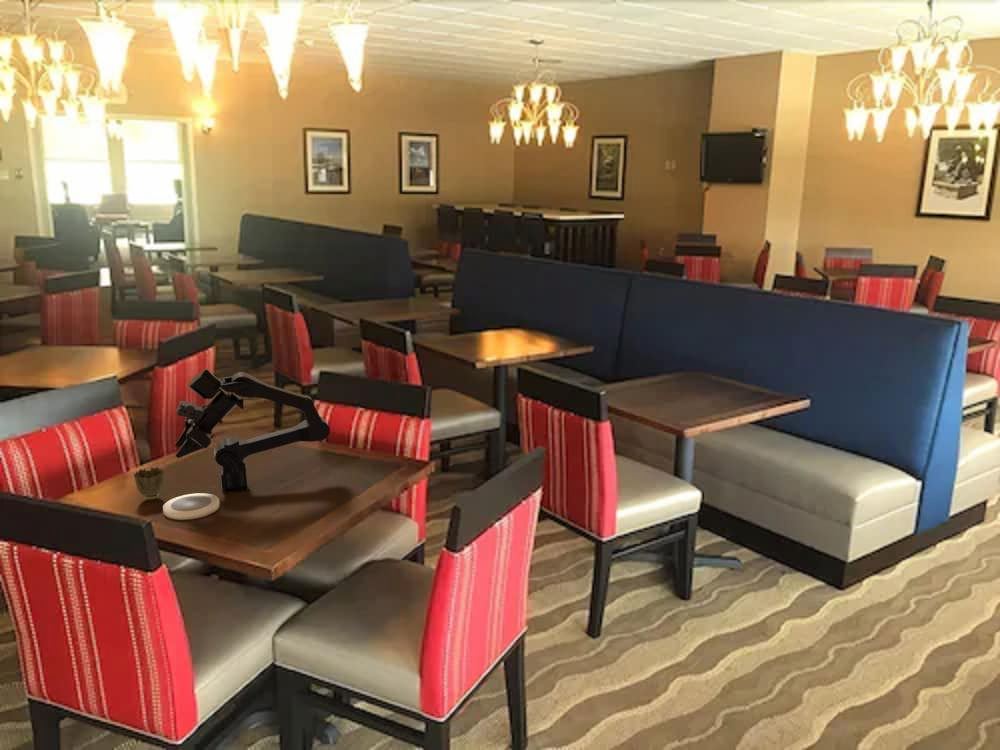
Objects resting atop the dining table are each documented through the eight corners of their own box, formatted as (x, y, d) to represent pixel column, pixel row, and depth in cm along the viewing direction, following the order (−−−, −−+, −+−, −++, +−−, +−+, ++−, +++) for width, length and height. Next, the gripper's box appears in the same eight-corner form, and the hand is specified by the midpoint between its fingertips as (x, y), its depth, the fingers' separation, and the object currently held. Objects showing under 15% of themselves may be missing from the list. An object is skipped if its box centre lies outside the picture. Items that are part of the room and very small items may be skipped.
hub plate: (218, 495, 223) (217, 489, 223) (221, 514, 211) (220, 508, 210) (163, 502, 218) (162, 497, 218) (163, 523, 206) (162, 517, 205)
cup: (166, 492, 225) (163, 465, 223) (166, 502, 219) (163, 474, 217) (137, 496, 223) (134, 469, 221) (136, 506, 216) (133, 478, 214)
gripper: (192, 383, 227) (152, 423, 225) (194, 399, 210) (151, 444, 208) (223, 407, 232) (184, 448, 230) (228, 426, 215) (186, 469, 213)
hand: (176, 451), depth 220 cm, fingers open, 9 cm apart
